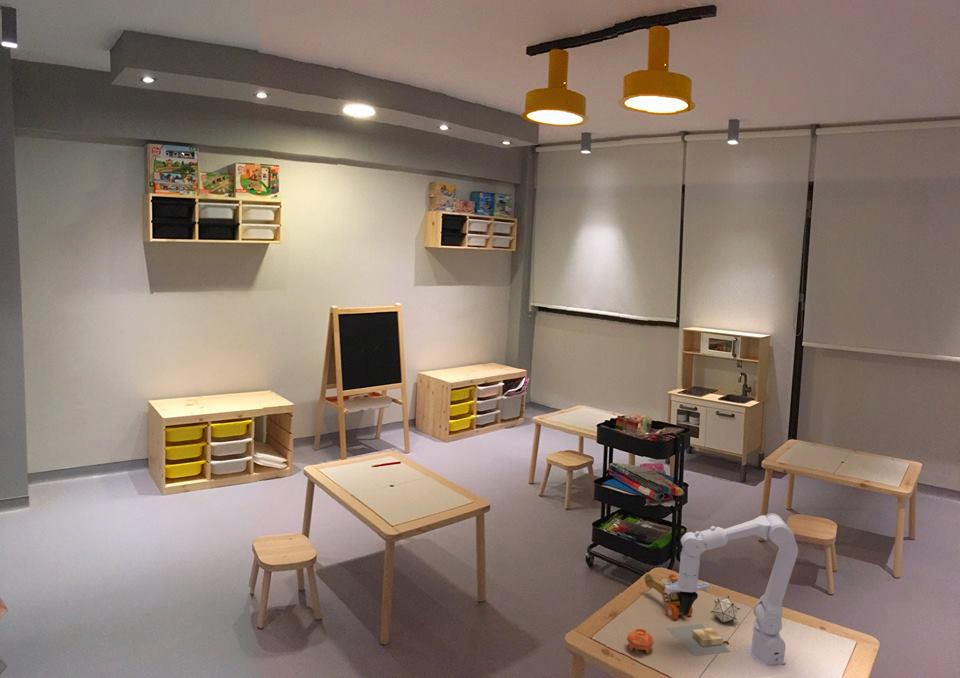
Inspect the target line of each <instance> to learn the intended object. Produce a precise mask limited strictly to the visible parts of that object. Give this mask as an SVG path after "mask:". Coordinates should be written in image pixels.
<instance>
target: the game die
mask: <svg viewBox="0 0 960 678" xmlns="http://www.w3.org/2000/svg"><path fill="white" fill-rule="evenodd" d="M729 598H730V595H728V596H727V598H722V599H719V598H717V600H714V603H715V605H714V607H713V610H711V611H710V613H711V614H712V613H713V614H714V615H715V616H716V618H718V619H719V620H720V621H721V623H722V625H724V623H728V622H730V621H731V622H732V621H733V622H734V620H735V621H738V620H737V613H738V611H740V610H741V608H740V607H737V606H736V605H735V604H734V603H735V602H734V603H733V602H732V600H731V599H729Z"/></svg>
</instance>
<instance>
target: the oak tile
mask: <svg viewBox="0 0 960 678" xmlns="http://www.w3.org/2000/svg"><path fill="white" fill-rule="evenodd" d="M705 628H706V629H697V630H692V636H693V637H694V638H695V639H696V640H697V641H698V642H699V643H700V644H701V645H702V646H710V645H719V644H723V637H722V635H720V634H719V633H718V632H717V631H716V630H714V629H713V628H712V627H708V628H707V627H705Z"/></svg>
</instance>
